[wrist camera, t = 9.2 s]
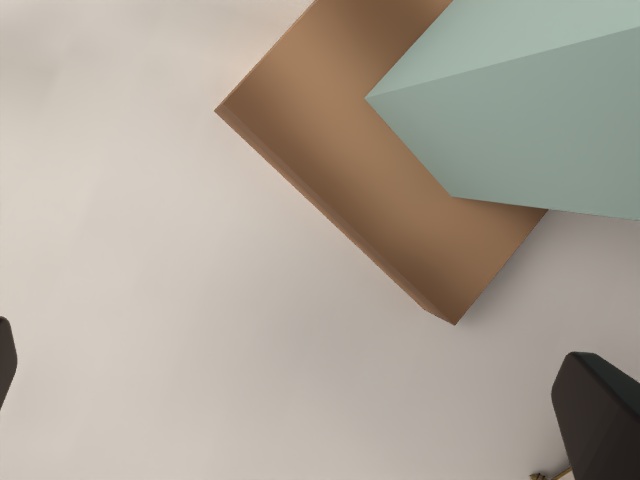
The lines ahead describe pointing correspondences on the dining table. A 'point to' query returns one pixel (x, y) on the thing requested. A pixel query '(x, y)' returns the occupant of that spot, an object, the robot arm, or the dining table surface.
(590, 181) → the teal block
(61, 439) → the dining table surface
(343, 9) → the walnut slab
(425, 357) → the dining table surface
